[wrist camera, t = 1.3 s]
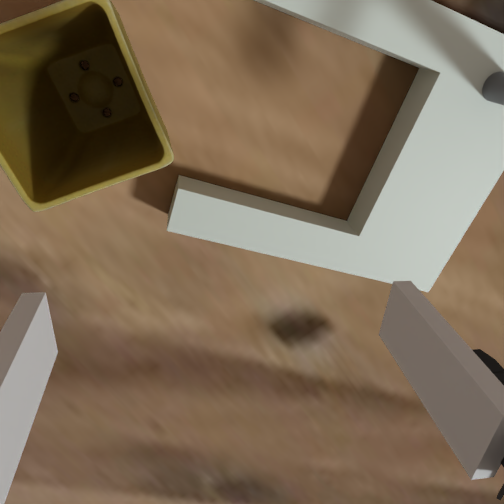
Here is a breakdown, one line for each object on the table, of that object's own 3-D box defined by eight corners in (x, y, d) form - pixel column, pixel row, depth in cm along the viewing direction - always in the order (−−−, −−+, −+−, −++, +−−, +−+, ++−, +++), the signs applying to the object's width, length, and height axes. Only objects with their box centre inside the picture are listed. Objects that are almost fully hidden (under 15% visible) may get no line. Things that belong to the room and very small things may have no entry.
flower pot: (-2, 41, 27) (-78, 50, 19) (125, -7, 27) (101, -16, 19) (69, 166, 31) (31, 215, 24) (179, 127, 31) (177, 163, 23)
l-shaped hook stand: (168, 214, 34) (156, 362, 20) (245, -74, 26) (325, -193, 11) (412, 274, 41) (541, 419, 26) (538, 60, 32) (831, 97, 18)
